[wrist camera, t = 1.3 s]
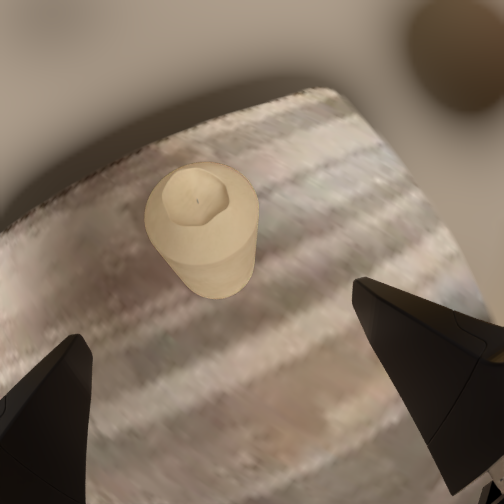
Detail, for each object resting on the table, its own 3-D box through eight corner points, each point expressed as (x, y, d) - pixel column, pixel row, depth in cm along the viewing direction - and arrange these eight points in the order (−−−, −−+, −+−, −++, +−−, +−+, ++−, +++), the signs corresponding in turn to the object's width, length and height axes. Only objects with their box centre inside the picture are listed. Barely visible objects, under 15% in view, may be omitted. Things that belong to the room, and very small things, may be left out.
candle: (268, 249, 22) (283, 173, 13) (229, 314, 21) (215, 280, 11) (205, 216, 23) (182, 129, 14) (165, 275, 22) (111, 216, 12)
